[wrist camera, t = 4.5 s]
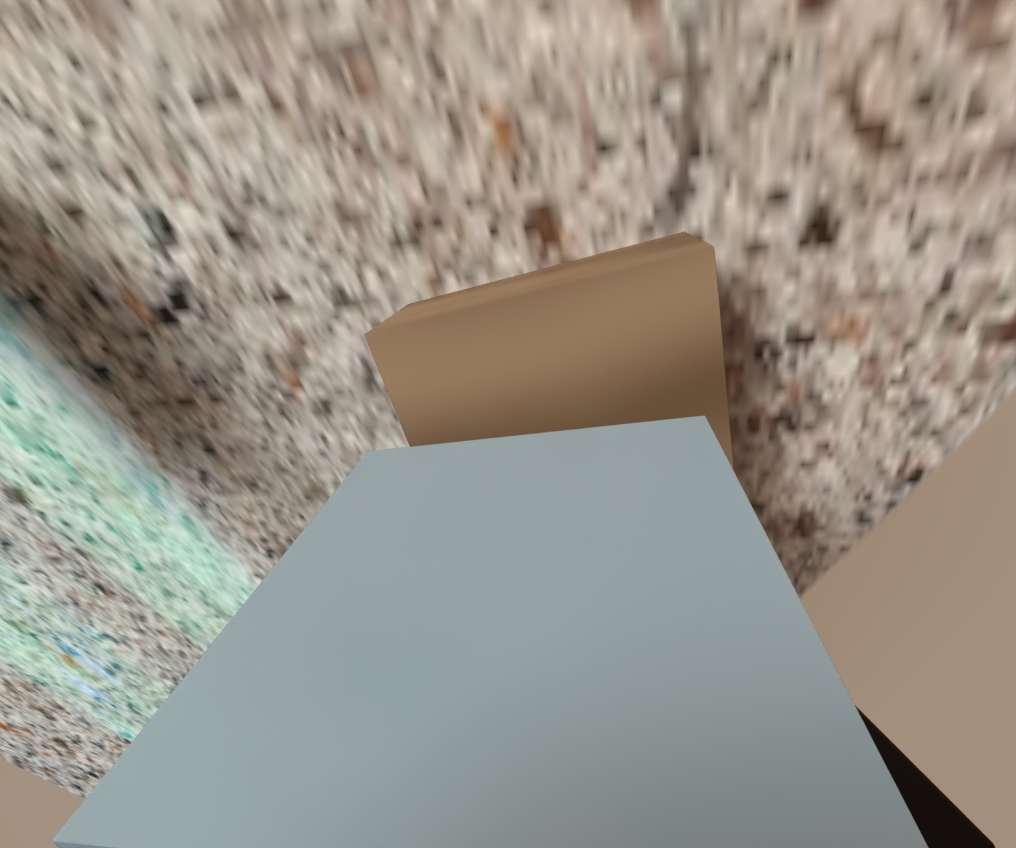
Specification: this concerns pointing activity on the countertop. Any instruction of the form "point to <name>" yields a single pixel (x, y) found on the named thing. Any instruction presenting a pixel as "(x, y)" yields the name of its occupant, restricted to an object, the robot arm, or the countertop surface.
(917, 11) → the countertop surface
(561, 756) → the blue-grey and cream block
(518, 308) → the walnut block
